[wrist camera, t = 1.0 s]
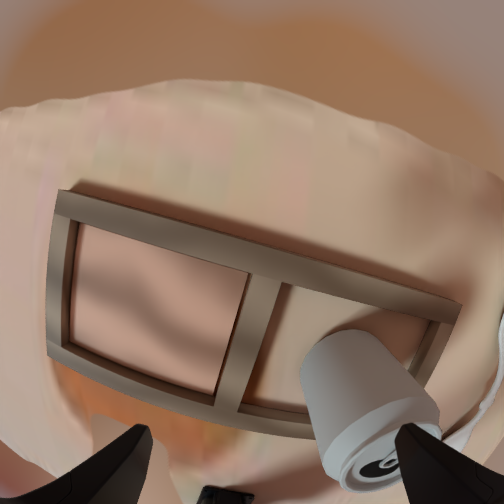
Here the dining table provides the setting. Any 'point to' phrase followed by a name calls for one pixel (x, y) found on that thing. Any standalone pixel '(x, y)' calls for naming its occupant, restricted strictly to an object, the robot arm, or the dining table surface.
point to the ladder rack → (192, 309)
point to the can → (362, 408)
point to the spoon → (463, 434)
